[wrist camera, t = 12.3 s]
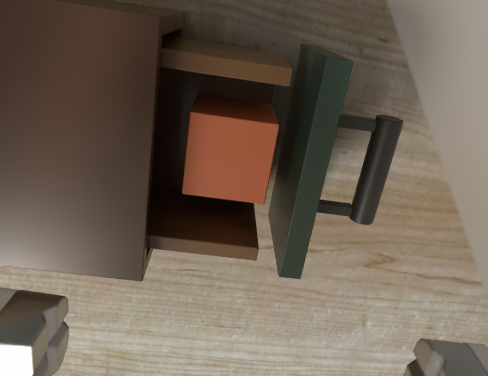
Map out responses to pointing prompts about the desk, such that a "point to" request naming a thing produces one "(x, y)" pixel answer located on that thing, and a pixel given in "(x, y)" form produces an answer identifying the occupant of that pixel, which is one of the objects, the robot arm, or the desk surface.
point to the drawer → (291, 156)
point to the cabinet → (79, 133)
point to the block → (229, 148)
